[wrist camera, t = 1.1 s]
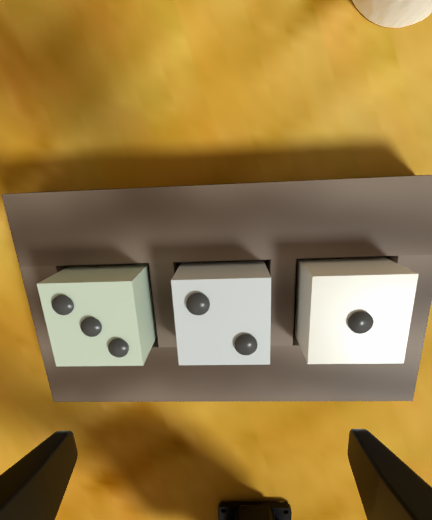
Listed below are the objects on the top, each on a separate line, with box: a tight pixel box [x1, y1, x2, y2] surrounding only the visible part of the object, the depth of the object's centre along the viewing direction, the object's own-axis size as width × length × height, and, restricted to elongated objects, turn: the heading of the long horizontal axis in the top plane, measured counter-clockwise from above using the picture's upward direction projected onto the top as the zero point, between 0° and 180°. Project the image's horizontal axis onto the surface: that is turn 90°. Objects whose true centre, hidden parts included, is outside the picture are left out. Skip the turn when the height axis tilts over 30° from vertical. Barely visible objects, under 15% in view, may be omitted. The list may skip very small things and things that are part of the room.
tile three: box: [37, 264, 157, 367], centre depth 16 cm, size 5×5×3 cm
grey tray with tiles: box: [2, 175, 432, 402], centre depth 18 cm, size 14×24×3 cm, turn 92°
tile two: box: [171, 261, 271, 365], centre depth 16 cm, size 5×5×3 cm
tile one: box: [295, 257, 419, 364], centre depth 15 cm, size 5×5×3 cm
